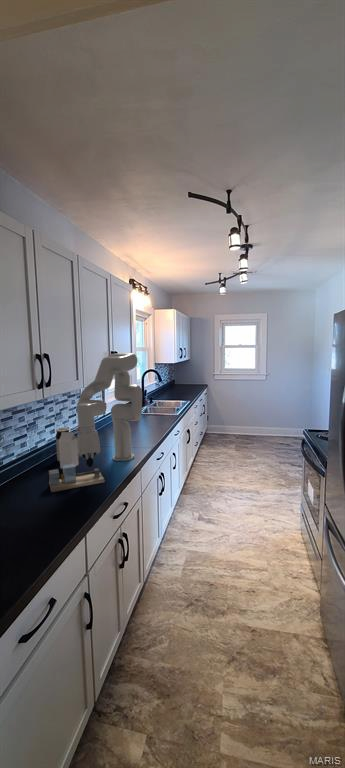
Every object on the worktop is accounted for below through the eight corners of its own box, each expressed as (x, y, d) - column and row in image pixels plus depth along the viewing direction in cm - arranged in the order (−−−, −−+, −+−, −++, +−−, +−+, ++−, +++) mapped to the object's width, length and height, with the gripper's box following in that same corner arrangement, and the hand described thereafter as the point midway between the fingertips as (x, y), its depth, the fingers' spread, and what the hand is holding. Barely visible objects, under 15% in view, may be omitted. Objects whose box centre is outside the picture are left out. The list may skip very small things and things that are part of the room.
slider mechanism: (49, 484, 164) (48, 469, 163) (100, 475, 174) (99, 460, 173) (51, 492, 155) (50, 475, 154) (104, 482, 165) (103, 466, 164)
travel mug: (60, 457, 204) (58, 427, 203) (73, 457, 204) (71, 427, 202) (55, 462, 197) (53, 431, 195) (69, 461, 196) (67, 430, 194)
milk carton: (72, 469, 184) (70, 434, 182) (60, 468, 185) (57, 434, 183) (78, 464, 191) (76, 430, 189) (67, 464, 192) (64, 430, 190)
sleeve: (63, 479, 165) (62, 465, 164) (74, 477, 167) (73, 463, 166) (65, 483, 159) (64, 468, 158) (76, 481, 161) (75, 467, 160)
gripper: (71, 433, 158) (75, 471, 160) (104, 428, 164) (107, 465, 166) (69, 429, 165) (72, 466, 167) (100, 425, 171) (103, 460, 173)
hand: (89, 466), depth 167 cm, fingers closed
